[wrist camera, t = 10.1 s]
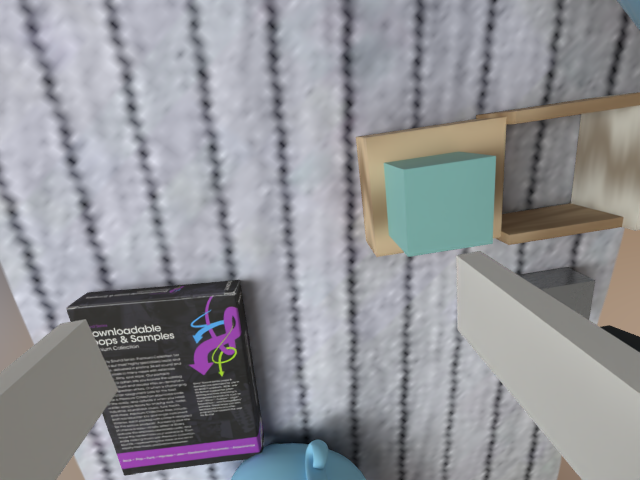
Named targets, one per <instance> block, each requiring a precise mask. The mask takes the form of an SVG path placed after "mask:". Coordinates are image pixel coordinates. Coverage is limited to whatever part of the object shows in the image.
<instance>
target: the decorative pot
mask: <svg viewBox="0 0 640 480" xmlns="http://www.w3.org/2000/svg"><path fill="white" fill-rule="evenodd" d="M231 480H366V479H365V477H364V475H363V474H362V472H361V471H360V470H359V469H358V468H357V467H356V466H355V465H354V464H353V463H352V462H351V461H350V460H349V459H347V458H346V457H345V456H343V455H341V454H339V453H337V452H334V451H332V450H329V449H328V446H327V444H326V443H325V442H323V441H322V440H319V439H318V440H314V441H312V442H311V443H309V444H299V443H287V444H279V443H273V444H270V445H268V446H265V447H263V450H262V452H261V453H260V454H257V455H255V456H252V457H250V458H249V459H246V460H245V461H244V462H243V463H242V464H241V465H240V466H239V467H238V469H237V470H236V472H235V473H234V475H233V476H232V478H231Z"/></svg>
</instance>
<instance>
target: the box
mask: <svg viewBox="0 0 640 480" xmlns="http://www.w3.org/2000/svg"><path fill="white" fill-rule="evenodd" d="M67 313H68V315H69V318H70V321H71V322H73V321H79V320H85V319H86V321H87V323H88V325H89V327H90V329H91V332H92V334H93V336H94V338H95V340H96V343H97V345H98V347H99V349H100V351H101V354H102V356H103V358H104V360H105V362H106V365H107V367H108V369H109V371H110V373H111V376H112V378H113V380H114V382H115V384H116V387H117V389H118V391H117V392H116V394H115V395H114V397H113V398H112V399H111V401H110V402H109V404H108V405H107V407H106V408H105V410H104V411H103V413H102V414H103V416H104V419H105V423H106V425H107V428H108V431H109V434H110V436H111V439H112V442H113V444H114V447H115V450H116V453H117V456H118V459H119V462H120V465H121V468H122V470H123V473H124V475H133V474H136V473H143V472H151V471H158V470H165V469H173V468H180V467H188V466H196V465H204V464H212V463H219V462H226V461H235V460H246V459H249V458H250V457H252V456H255V455H257V454H260V453H261V452H262V450H263V438H264V433H263V427H262V420H261V413H260V407H259V400H258V394H257V387H256V381H255V375H254V369H253V362H252V355H251V349H250V343H249V336H248V330H247V324H246V317H245V311H244V304H243V298H242V292H241V285H240V280H235V281H224V282H212V283H201V284H190V285H178V286H166V287H155V288H143V289H131V290H118V291H104V292H91V293H86V294H85V295H83V296H82V297H80V298H79V299H78V300H76V301H75V302H74V303H72V304H71V305H69V306H68V307H67Z"/></svg>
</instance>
